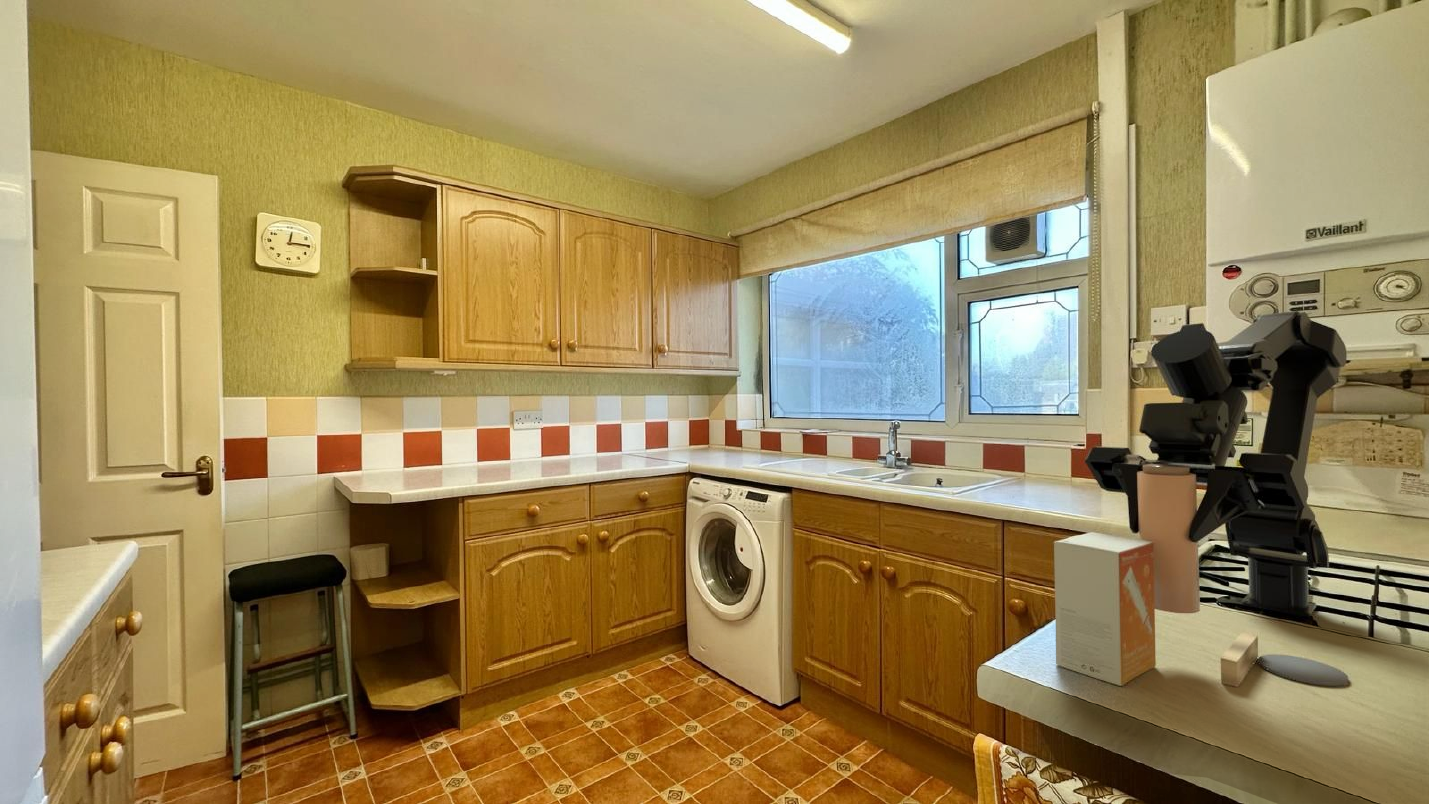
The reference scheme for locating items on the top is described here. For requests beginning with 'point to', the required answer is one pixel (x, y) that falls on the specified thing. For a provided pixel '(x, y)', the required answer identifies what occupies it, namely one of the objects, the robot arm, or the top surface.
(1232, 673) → the block
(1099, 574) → the small box
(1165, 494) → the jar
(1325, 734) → the top surface
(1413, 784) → the top surface
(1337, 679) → the coaster
